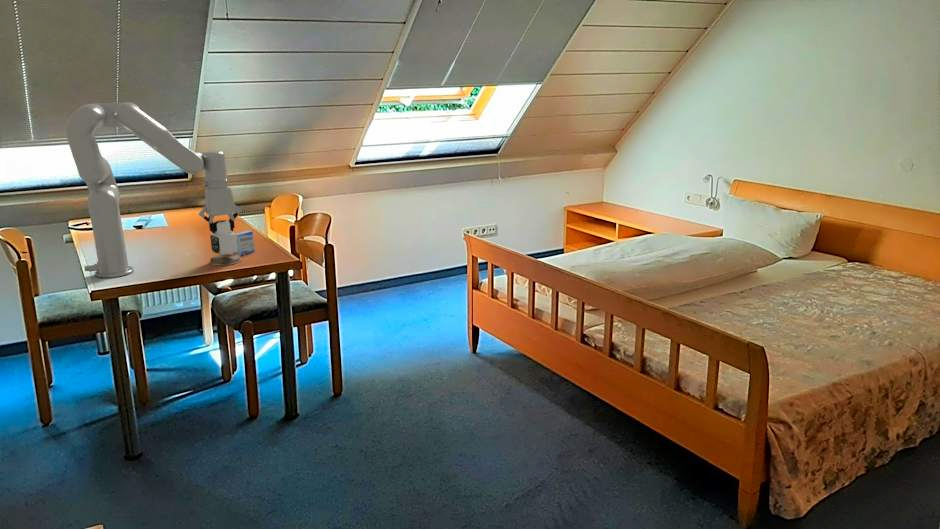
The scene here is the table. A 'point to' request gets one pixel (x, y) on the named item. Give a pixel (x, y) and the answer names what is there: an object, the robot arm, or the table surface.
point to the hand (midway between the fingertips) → (222, 231)
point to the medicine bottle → (223, 238)
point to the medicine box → (244, 242)
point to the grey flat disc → (225, 259)
